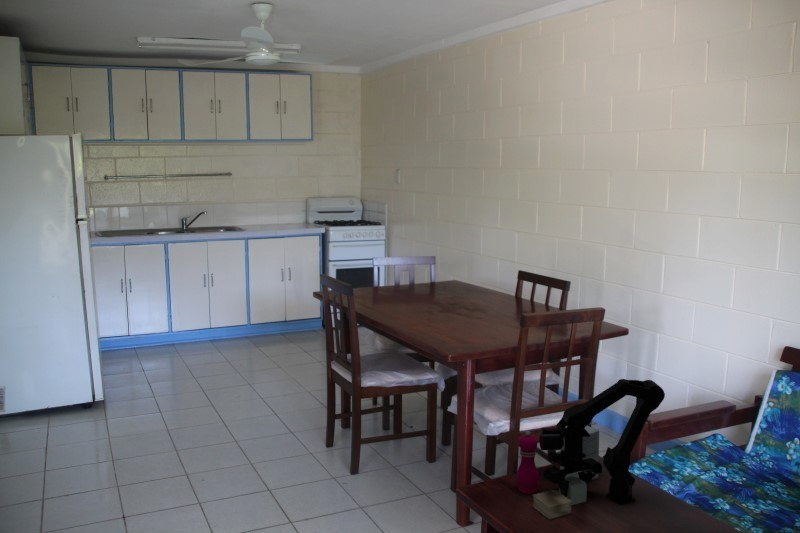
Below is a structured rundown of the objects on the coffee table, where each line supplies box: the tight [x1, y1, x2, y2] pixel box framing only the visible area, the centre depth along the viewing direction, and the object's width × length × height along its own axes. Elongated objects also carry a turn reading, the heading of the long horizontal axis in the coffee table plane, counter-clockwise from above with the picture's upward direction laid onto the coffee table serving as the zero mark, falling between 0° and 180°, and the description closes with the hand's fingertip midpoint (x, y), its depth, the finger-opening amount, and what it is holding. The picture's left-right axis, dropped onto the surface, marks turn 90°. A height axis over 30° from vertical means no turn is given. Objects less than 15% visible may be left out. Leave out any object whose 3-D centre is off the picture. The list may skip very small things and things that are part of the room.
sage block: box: [558, 476, 588, 506], centre depth 211 cm, size 6×6×6 cm
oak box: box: [532, 489, 572, 520], centre depth 205 cm, size 8×8×4 cm
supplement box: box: [559, 425, 600, 481], centre depth 226 cm, size 10×9×17 cm
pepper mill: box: [515, 430, 540, 495], centre depth 217 cm, size 7×7×20 cm
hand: (572, 496), depth 211 cm, fingers closed on sage block, 6 cm apart
